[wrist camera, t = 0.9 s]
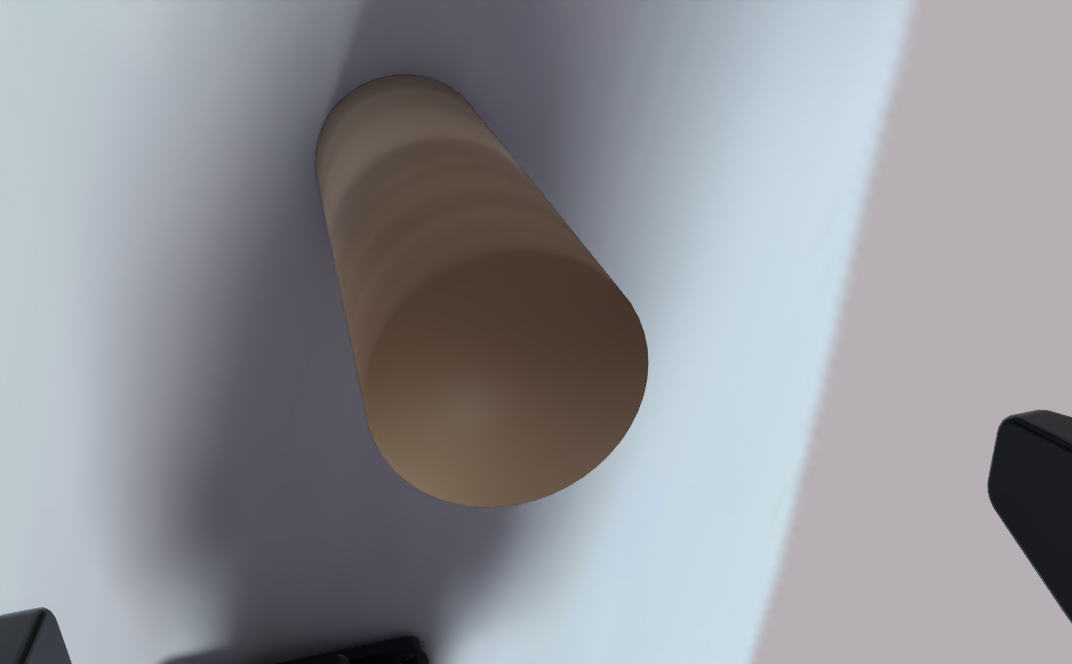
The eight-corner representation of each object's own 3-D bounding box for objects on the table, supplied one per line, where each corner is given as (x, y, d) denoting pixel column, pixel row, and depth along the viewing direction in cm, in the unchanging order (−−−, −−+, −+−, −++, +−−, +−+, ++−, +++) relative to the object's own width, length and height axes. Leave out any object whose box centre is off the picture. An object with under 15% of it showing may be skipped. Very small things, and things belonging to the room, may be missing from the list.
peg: (494, 233, 21) (646, 479, 13) (328, 254, 20) (381, 530, 12) (483, 66, 19) (650, 232, 11) (302, 84, 18) (346, 274, 11)
